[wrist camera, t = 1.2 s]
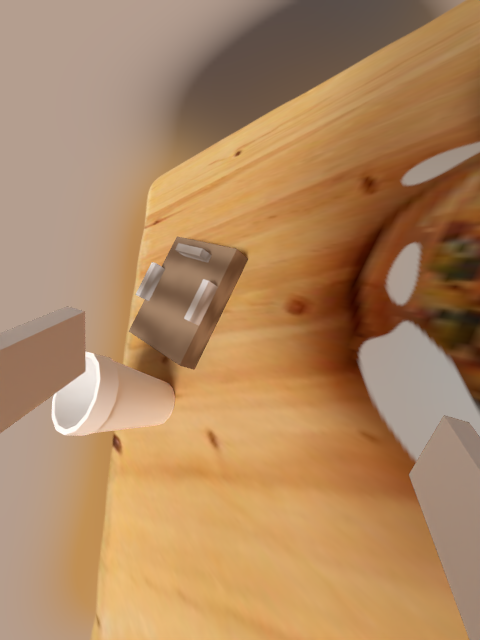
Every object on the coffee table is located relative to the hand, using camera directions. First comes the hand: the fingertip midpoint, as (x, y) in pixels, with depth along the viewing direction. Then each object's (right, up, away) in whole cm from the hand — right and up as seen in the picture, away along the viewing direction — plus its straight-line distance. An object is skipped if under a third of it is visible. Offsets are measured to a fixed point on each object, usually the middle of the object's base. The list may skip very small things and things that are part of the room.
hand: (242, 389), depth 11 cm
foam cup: (-12, -10, +34) cm, 37 cm away
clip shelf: (-8, +6, +37) cm, 38 cm away
